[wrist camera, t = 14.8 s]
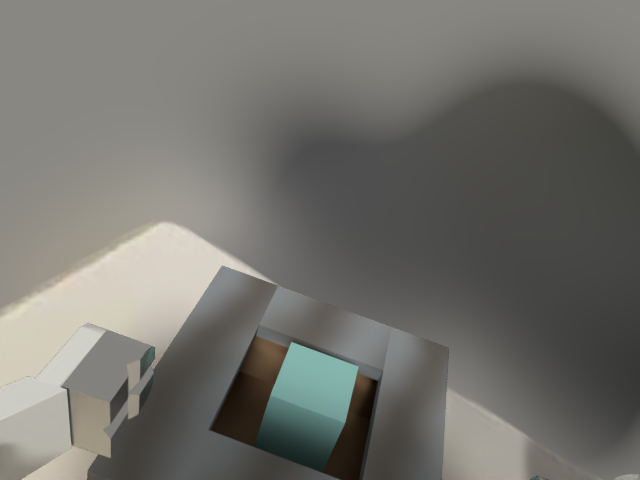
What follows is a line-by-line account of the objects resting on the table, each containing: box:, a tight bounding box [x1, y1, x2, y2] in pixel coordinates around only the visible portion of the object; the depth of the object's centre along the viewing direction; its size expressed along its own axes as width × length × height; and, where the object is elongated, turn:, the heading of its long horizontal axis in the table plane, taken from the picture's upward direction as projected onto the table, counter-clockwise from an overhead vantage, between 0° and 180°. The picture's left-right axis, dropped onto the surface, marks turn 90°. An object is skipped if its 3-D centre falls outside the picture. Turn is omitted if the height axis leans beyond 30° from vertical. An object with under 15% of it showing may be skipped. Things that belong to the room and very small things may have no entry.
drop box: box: [87, 266, 449, 480], centre depth 34 cm, size 16×16×9 cm
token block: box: [254, 342, 358, 472], centre depth 33 cm, size 4×4×10 cm
